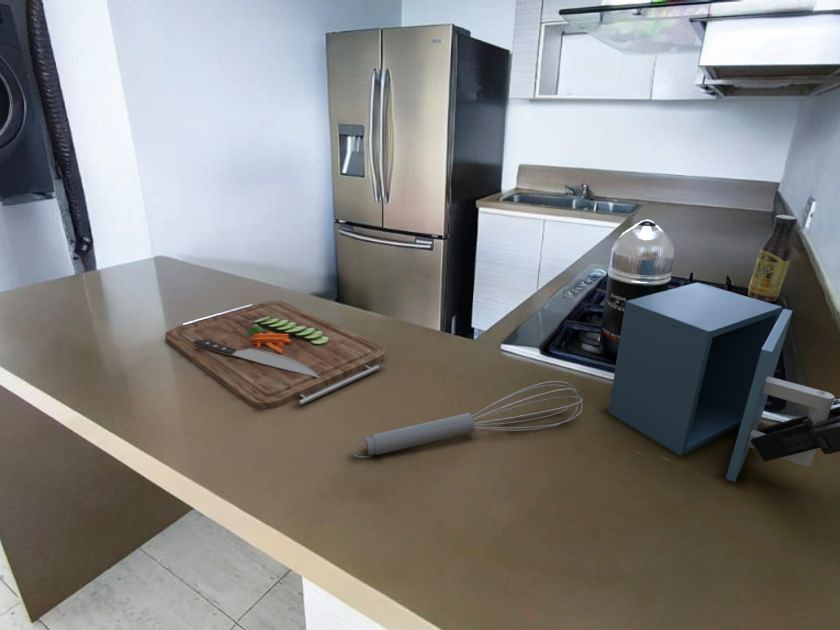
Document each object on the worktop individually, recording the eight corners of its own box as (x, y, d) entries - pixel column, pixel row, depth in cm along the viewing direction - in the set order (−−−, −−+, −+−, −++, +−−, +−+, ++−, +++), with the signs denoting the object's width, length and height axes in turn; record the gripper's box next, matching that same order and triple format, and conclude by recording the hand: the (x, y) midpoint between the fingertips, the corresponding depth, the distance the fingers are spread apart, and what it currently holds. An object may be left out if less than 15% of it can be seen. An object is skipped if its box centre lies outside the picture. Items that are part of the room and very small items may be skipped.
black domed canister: (635, 371, 88) (660, 229, 78) (585, 350, 95) (603, 219, 86) (667, 355, 93) (693, 221, 84) (617, 337, 101) (637, 212, 91)
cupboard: (749, 421, 73) (782, 306, 67) (680, 456, 66) (709, 331, 59) (675, 385, 83) (697, 282, 76) (607, 412, 76) (625, 301, 69)
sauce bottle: (740, 295, 123) (760, 214, 116) (762, 293, 124) (784, 212, 117) (761, 304, 117) (784, 219, 110) (785, 302, 118) (809, 218, 111)
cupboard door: (813, 441, 69) (854, 322, 62) (797, 506, 57) (846, 369, 51) (751, 422, 73) (783, 308, 66) (725, 478, 62) (761, 349, 55)
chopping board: (402, 361, 92) (402, 345, 91) (271, 421, 74) (268, 403, 73) (272, 301, 121) (271, 289, 120) (156, 334, 103) (153, 321, 102)
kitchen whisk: (347, 444, 69) (345, 404, 66) (565, 407, 78) (570, 371, 75) (355, 473, 63) (352, 431, 61) (588, 429, 72) (594, 391, 70)
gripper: (1069, 446, 37) (760, 504, 55) (1065, 379, 46) (802, 447, 64) (993, 357, 39) (718, 441, 57) (1004, 310, 48) (765, 395, 66)
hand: (763, 444), depth 60 cm, fingers open, 2 cm apart
